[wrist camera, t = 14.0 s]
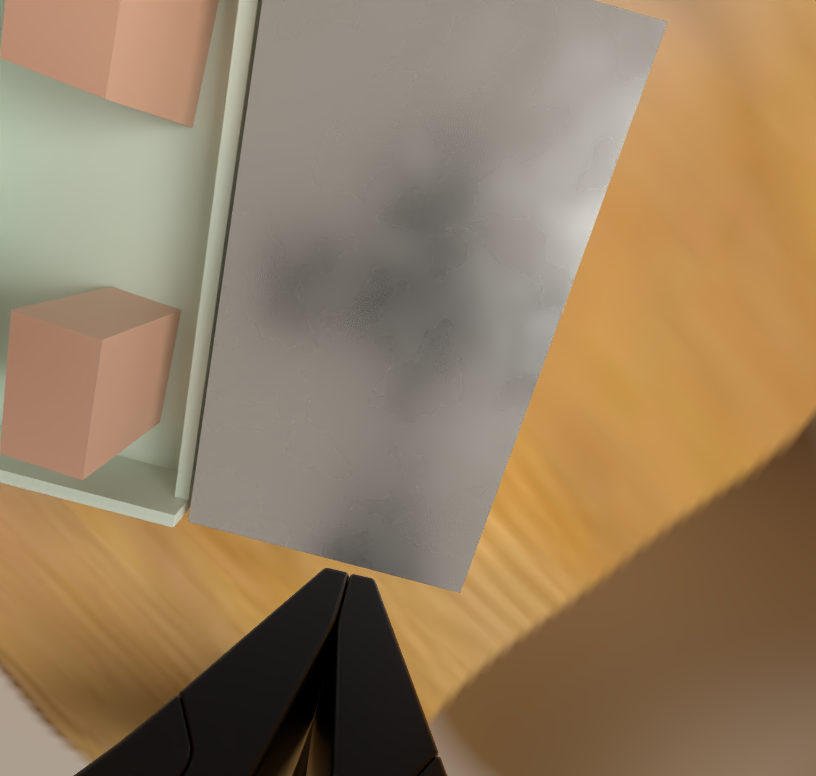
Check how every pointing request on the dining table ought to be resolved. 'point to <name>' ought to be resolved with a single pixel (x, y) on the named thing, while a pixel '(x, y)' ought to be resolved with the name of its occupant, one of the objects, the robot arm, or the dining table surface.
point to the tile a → (85, 378)
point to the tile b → (117, 48)
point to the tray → (126, 241)
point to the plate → (403, 264)
